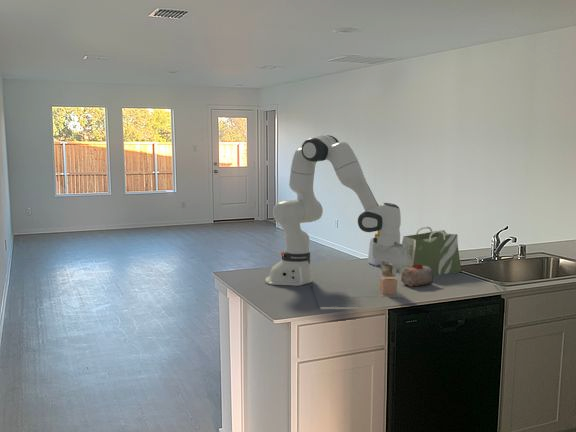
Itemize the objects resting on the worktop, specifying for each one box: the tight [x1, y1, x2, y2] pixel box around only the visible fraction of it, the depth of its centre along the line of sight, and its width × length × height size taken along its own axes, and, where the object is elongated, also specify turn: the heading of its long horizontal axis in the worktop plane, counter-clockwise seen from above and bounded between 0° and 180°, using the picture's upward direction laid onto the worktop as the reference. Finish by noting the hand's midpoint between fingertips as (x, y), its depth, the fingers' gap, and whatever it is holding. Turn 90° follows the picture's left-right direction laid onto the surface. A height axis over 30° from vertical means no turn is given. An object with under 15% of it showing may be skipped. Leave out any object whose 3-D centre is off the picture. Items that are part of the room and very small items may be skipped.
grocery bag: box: [396, 226, 463, 276], centre depth 286 cm, size 32×14×23 cm, turn 116°
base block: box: [379, 276, 398, 294], centre depth 241 cm, size 6×6×6 cm
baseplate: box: [344, 287, 407, 298], centre depth 241 cm, size 24×14×1 cm, turn 93°
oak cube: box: [381, 263, 396, 278], centre depth 240 cm, size 4×4×4 cm
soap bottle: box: [367, 231, 390, 267], centre depth 304 cm, size 10×14×22 cm
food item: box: [400, 263, 433, 288], centre depth 260 cm, size 14×8×10 cm, turn 116°
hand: (388, 272), depth 241 cm, fingers closed on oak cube, 5 cm apart
